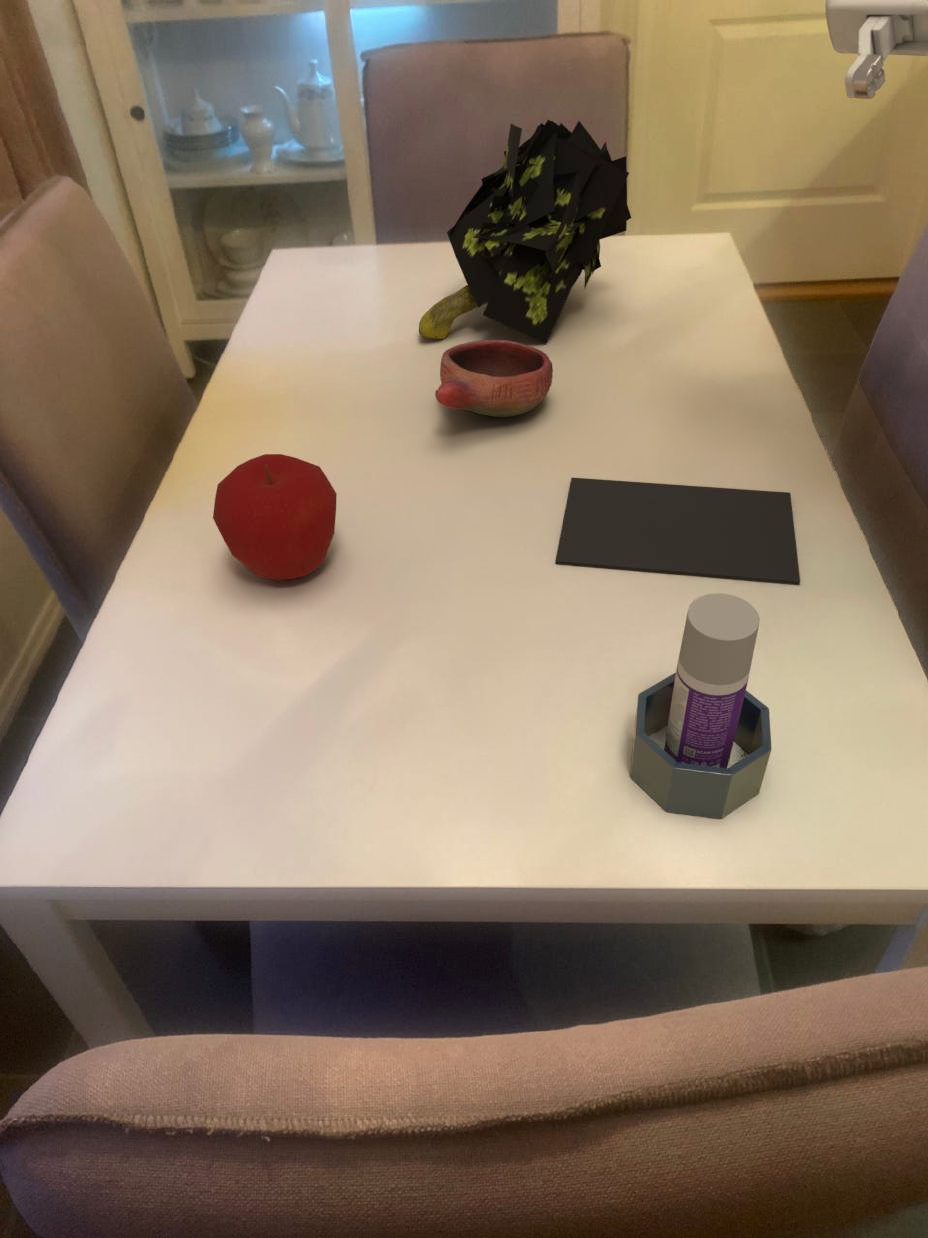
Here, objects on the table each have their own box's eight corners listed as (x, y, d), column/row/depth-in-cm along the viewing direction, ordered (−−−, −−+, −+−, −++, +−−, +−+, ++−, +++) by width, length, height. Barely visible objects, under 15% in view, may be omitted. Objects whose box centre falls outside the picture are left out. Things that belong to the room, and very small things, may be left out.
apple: (225, 610, 83) (194, 505, 75) (237, 538, 91) (210, 437, 83) (346, 599, 84) (327, 493, 76) (347, 529, 91) (331, 427, 84)
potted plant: (459, 383, 115) (587, 153, 98) (371, 280, 125) (473, 53, 107) (566, 391, 130) (693, 193, 113) (480, 299, 140) (585, 103, 122)
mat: (789, 495, 92) (790, 492, 92) (799, 585, 82) (800, 581, 82) (571, 480, 96) (571, 477, 96) (555, 564, 86) (555, 560, 86)
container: (738, 762, 68) (776, 613, 58) (703, 801, 65) (736, 652, 55) (685, 730, 70) (711, 582, 60) (649, 767, 68) (670, 618, 58)
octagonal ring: (755, 725, 70) (767, 680, 67) (760, 824, 64) (773, 780, 60) (635, 711, 72) (640, 667, 69) (627, 807, 65) (633, 763, 62)
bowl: (448, 382, 113) (444, 320, 107) (552, 382, 112) (554, 319, 106) (434, 453, 101) (429, 388, 96) (551, 454, 100) (552, 388, 94)
